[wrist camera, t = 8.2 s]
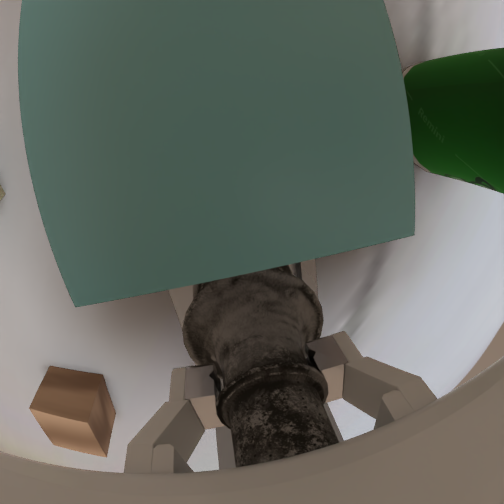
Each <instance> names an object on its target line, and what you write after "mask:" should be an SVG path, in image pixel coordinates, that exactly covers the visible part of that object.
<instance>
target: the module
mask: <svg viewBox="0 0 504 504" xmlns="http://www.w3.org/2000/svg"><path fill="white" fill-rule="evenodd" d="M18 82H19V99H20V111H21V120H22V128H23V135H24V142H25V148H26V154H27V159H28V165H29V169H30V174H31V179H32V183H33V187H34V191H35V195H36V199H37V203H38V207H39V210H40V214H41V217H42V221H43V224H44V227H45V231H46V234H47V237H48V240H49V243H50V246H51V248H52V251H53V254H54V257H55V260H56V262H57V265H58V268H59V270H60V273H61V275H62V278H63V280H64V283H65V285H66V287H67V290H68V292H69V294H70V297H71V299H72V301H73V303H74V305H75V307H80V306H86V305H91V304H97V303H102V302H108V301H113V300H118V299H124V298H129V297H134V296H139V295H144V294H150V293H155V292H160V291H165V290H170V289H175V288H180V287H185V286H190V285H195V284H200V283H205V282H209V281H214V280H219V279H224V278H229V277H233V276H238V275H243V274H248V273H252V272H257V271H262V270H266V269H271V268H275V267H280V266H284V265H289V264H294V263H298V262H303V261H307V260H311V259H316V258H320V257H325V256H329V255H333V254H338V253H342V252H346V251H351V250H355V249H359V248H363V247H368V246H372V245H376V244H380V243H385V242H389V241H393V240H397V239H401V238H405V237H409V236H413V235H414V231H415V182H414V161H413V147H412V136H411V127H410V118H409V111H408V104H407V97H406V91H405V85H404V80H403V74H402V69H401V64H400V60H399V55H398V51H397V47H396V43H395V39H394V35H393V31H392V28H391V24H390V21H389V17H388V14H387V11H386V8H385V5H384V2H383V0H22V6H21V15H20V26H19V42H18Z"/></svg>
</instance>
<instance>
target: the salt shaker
mask: <svg viewBox="0 0 504 504" xmlns="http://www.w3.org/2000/svg"><path fill="white" fill-rule="evenodd" d="M322 326H323V313H322V306H321V304H320V302H319V300H318V298H317V296H316V294H315V292H314V291H313V290H312V289H311V288H310V287H309V286H308V285H307V284H306V283H305V282H304V281H303V280H301V279H299V278H298V277H296V276H294V275H293V273H292V271H291V269H290V267H289V265H284V266H280V267H275V268H271V269H266V270H262V271H257V272H252V273H248V274H243V275H238V276H233V277H229V278H224V279H219V280H214V281H209V282H205V283H200V284H195V285H193V301H192V302H191V304H190V306H189V307H188V309H187V311H186V313H185V318H184V323H183V327H182V331H183V339H184V345H185V347H186V349H187V351H188V353H189V355H190V357H191V358H192V359H193V361H194V362H195V363H196V364H197V365H203V364H209V363H214V364H215V366H216V369H217V376H218V378H220V379H223V387H224V388H223V389H222V391H221V392H220V393H219V395H218V398H217V401H216V414H217V416H218V418H219V420H220V421H221V423H222V424H224V425H225V426H226V427H227V428H228V429H230V430H231V435H232V443H233V450H234V457H235V465H236V467H242V466H248V465H254V464H259V463H265V462H270V461H274V460H279V459H283V458H287V457H291V456H295V455H299V454H303V453H307V452H310V451H314V450H317V449H321V448H324V447H327V446H330V445H333V444H336V443H339V440H338V438H337V436H336V433H335V431H334V429H333V426H332V424H331V422H330V419H329V417H328V415H327V412H326V410H325V408H324V404H325V402H326V399H327V396H328V393H329V392H328V383H327V381H326V379H325V378H324V376H323V374H322V373H320V372H319V371H318V370H316V369H315V368H314V367H311V366H309V365H308V363H307V360H306V358H307V355H306V352H305V346H304V345H305V342H309V341H312V340H316V339H319V338H320V336H321V331H322Z"/></svg>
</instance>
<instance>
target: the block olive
mask: <svg viewBox="0 0 504 504" xmlns="http://www.w3.org/2000/svg"><path fill="white" fill-rule="evenodd" d="M4 195H5V193H4V191H3V189H2V187H1V185H0V200H1V199H2V198H3V197H4Z"/></svg>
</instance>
